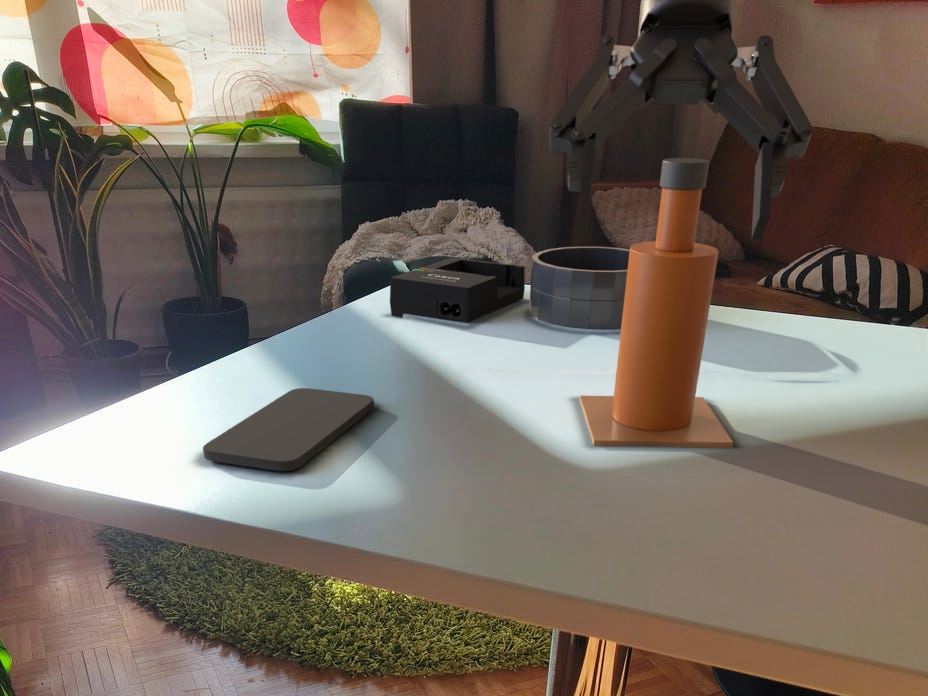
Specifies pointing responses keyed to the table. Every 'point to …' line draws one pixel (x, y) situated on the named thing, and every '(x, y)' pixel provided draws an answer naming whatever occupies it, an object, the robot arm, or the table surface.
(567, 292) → the pot
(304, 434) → the phone
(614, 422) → the cork mat
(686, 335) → the bottle
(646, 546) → the table surface
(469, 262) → the battery charger
